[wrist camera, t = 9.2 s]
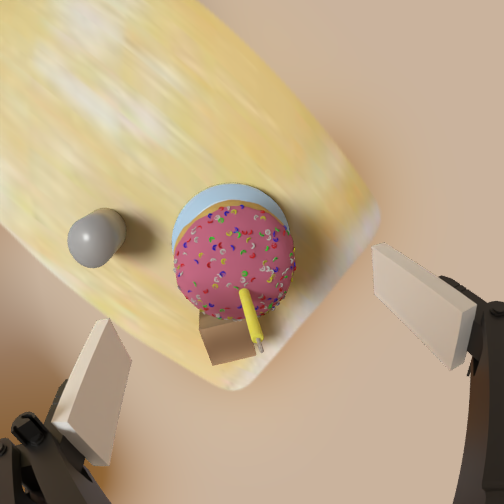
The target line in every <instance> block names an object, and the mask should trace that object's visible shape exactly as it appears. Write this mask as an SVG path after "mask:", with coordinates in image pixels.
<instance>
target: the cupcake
mask: <svg viewBox="0 0 504 504" xmlns="http://www.w3.org/2000/svg"><path fill="white" fill-rule="evenodd" d="M294 251H295V247H294V246H293V239H292V237H291V235H290V233H289V231H288V230H287V227H286V226H284V224H283V223H282V222H281V221H280V220H279V219H278V218H277V217H276V216H275V215H274V214H272V213H271V212H270V211H268V210H267V209H266V208H264V207H263V206H261V205H259V204H256V203H252V202H246V201H241V200H226V201H222V202H218V203H216V204H214V205H212V206H210V207H208V208H207V209H205V210H204V211H202V212H201V213H200V214H199V215H198V216H196V217H195V218H194V219H193V220H192V221H191V222H190V223H189V224H187V225H186V226H185V227H184V228H183V229H182V231H181V232H180V234H179V236H178V238H177V240H176V243H175V246H174V266H175V268H174V269H173V270H174V272H175V273H176V278H177V284H178V289H179V290H181V292H182V293H183V294H184V296H185V297H186V299H188V300H189V301H190V302H191V303H192V304H194V305H195V306H196V307H197V308H198V309H199V310H200V311H201V312H202V313H203V314H204V315H205V313H206V314H208V315H210V316H213V317H216V318H218V319H221V320H223V319H224V320H233V321H235V322H237V320H238V321H242V319H243V320H244V319H246V321H247V325H248V329H249V332H250V336H251V340H252V341H253V342H254V343H257V344H258V348H259V350H260V352H261V353H263V352H264V350H263V347H262V344H261V342H262V341H263V339H264V336H263V333H262V330H261V327H260V324H259V321H258V318H257V317H261V315H265V314H264V313H268V312H269V310H270V309H271V310H272V311H273V310H275V305H279V303H280V302H279V301H281V300H282V299H284V298H285V294H286V293H287V291H288V288H289V286H290V283H291V282H292V281H293V279H292V276H293V273H294V271H295V270H296V266H295V254H294ZM283 297H284V298H283ZM272 308H274V309H272ZM267 311H268V312H267Z"/></svg>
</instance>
